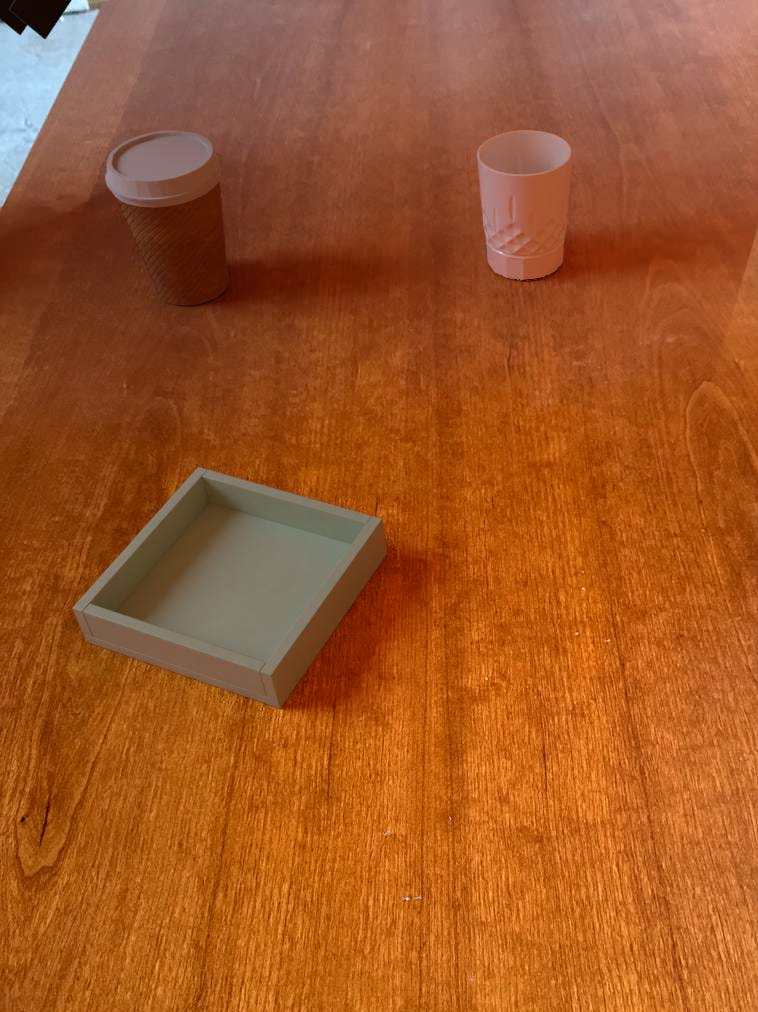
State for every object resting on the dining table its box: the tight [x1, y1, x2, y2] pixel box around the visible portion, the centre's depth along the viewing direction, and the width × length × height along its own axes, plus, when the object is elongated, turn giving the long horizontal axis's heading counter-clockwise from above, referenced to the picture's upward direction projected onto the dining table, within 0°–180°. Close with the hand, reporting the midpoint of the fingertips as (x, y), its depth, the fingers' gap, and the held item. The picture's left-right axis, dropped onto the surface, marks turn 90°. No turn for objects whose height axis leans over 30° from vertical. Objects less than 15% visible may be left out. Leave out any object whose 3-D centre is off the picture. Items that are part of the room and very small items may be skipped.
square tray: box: [72, 466, 388, 709], centre depth 78 cm, size 15×15×3 cm
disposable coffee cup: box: [104, 129, 230, 307], centre depth 100 cm, size 10×10×12 cm
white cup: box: [476, 129, 573, 281], centre depth 101 cm, size 8×8×10 cm
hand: (14, 23), depth 85 cm, fingers open, 13 cm apart
